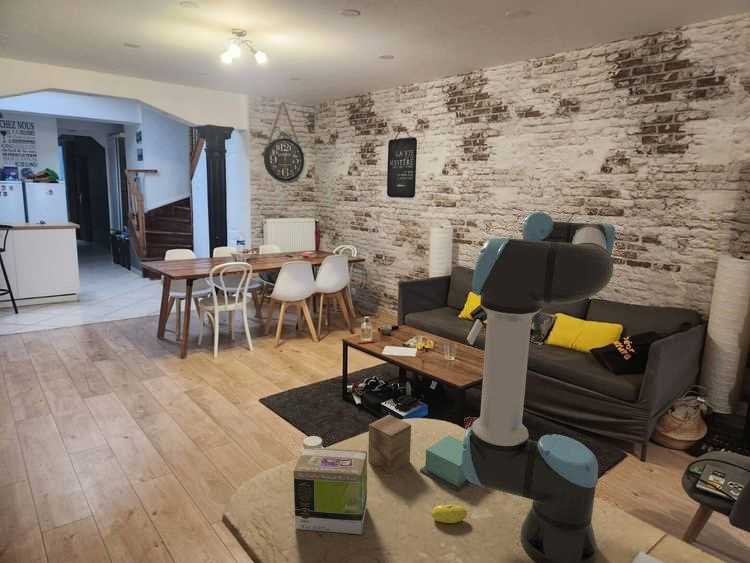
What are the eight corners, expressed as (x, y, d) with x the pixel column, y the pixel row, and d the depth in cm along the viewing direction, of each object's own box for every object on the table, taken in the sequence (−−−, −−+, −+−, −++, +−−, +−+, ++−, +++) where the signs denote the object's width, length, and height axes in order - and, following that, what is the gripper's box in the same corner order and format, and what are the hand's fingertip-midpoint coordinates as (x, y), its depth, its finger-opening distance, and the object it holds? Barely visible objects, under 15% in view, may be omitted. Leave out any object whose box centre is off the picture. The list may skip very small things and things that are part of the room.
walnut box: (409, 461, 134) (411, 424, 132) (390, 474, 128) (391, 435, 126) (388, 450, 139) (389, 414, 137) (368, 461, 134) (368, 424, 131)
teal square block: (479, 469, 130) (481, 449, 129) (457, 486, 123) (459, 465, 122) (447, 454, 137) (448, 435, 136) (425, 469, 130) (426, 449, 129)
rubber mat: (484, 471, 130) (484, 469, 130) (458, 492, 122) (458, 489, 122) (446, 453, 138) (446, 451, 138) (420, 471, 130) (420, 469, 130)
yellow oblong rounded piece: (430, 513, 114) (431, 498, 113) (465, 515, 114) (466, 500, 113) (432, 526, 110) (432, 511, 109) (468, 528, 110) (469, 513, 109)
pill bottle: (317, 469, 130) (317, 431, 127) (329, 481, 125) (329, 442, 122) (296, 478, 126) (295, 438, 124) (308, 490, 121) (307, 450, 119)
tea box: (367, 506, 116) (368, 449, 113) (361, 536, 106) (362, 475, 103) (304, 500, 118) (303, 444, 114) (293, 530, 108) (292, 470, 105)
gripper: (572, 299, 129) (541, 368, 122) (488, 283, 146) (456, 343, 139) (566, 283, 124) (533, 354, 117) (480, 268, 141) (446, 329, 134)
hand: (491, 348), depth 128 cm, fingers open, 13 cm apart
